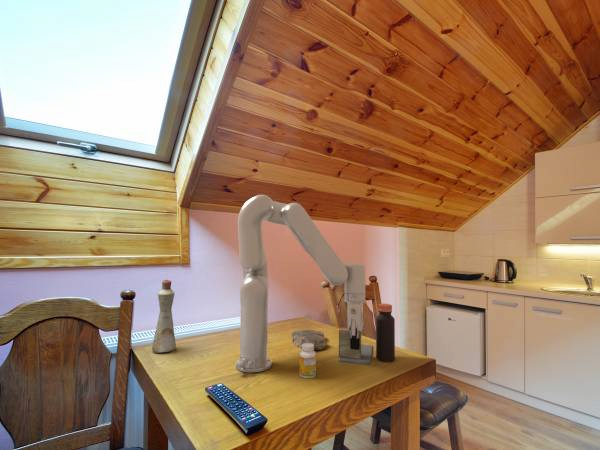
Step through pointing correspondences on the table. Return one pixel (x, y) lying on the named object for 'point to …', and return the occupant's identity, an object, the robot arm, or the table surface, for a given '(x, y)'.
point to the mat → (365, 356)
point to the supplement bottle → (307, 361)
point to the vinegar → (385, 334)
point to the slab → (347, 345)
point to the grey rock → (309, 338)
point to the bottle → (165, 321)
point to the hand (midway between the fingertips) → (354, 348)
